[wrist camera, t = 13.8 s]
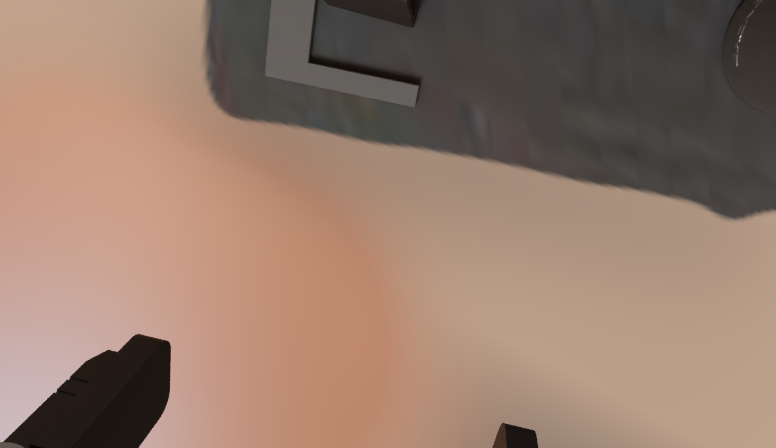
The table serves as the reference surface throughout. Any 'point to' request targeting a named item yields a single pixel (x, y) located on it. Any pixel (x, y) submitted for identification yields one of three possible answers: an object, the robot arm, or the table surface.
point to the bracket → (292, 63)
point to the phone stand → (382, 9)
